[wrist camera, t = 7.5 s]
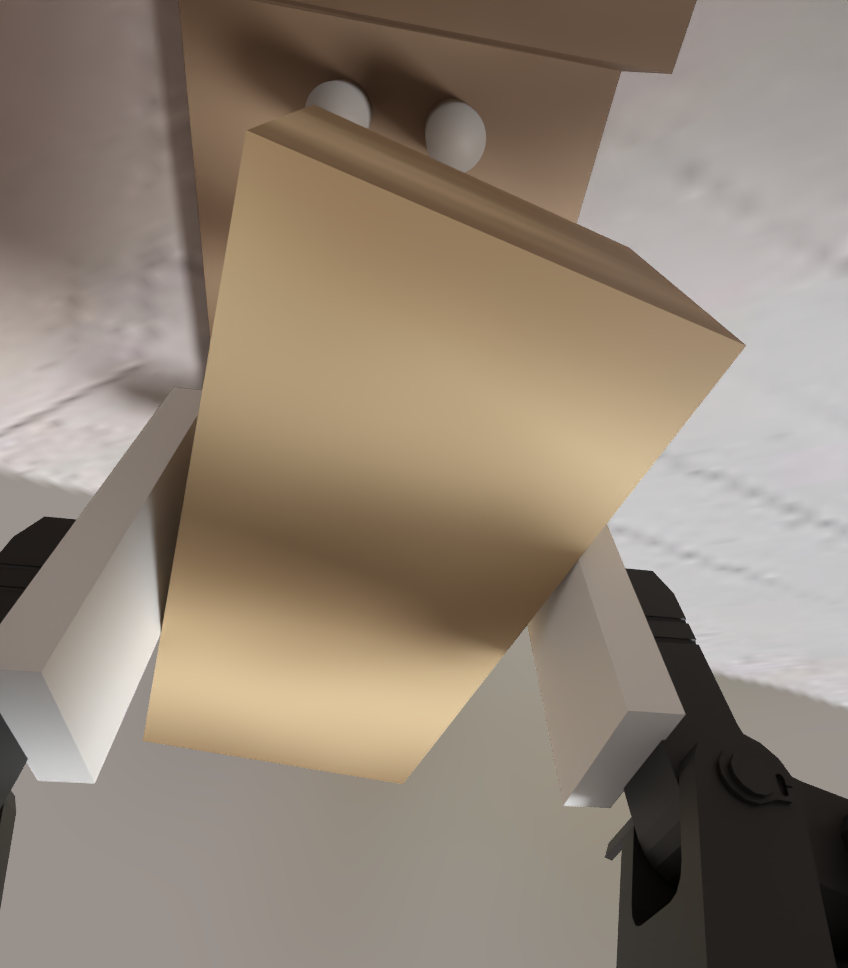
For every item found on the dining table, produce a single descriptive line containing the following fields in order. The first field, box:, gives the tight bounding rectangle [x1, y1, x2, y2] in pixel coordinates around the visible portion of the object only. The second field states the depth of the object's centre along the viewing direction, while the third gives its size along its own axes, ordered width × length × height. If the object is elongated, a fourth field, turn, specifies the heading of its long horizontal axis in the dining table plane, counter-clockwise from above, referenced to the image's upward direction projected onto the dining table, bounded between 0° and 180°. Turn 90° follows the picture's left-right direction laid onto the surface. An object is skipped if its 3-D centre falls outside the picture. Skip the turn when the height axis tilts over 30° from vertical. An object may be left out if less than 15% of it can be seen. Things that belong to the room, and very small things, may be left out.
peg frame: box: [179, 0, 697, 342], centre depth 20 cm, size 18×14×6 cm
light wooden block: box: [143, 105, 746, 784], centre depth 11 cm, size 12×6×4 cm, turn 158°
